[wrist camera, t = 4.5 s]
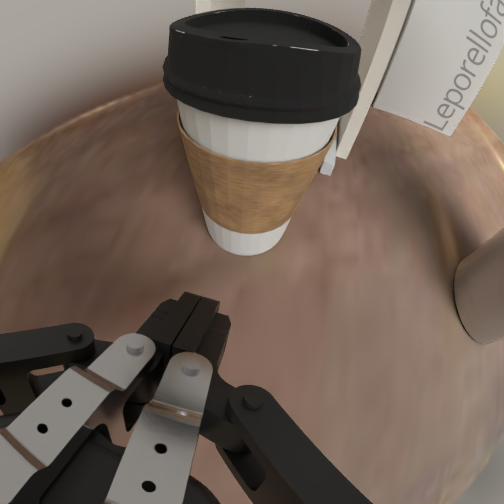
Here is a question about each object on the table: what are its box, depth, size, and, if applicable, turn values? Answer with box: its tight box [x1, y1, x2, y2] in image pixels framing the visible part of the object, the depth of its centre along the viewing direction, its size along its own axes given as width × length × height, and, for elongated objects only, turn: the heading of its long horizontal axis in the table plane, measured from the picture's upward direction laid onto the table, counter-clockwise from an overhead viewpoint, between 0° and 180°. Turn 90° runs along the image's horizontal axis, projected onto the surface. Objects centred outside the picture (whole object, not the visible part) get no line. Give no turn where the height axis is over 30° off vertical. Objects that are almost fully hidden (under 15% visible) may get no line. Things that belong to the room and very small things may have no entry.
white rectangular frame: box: [196, 0, 411, 176], centre depth 18 cm, size 15×13×20 cm
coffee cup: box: [163, 8, 362, 256], centre depth 14 cm, size 8×8×15 cm
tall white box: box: [372, 0, 504, 137], centre depth 19 cm, size 14×6×30 cm, turn 84°
